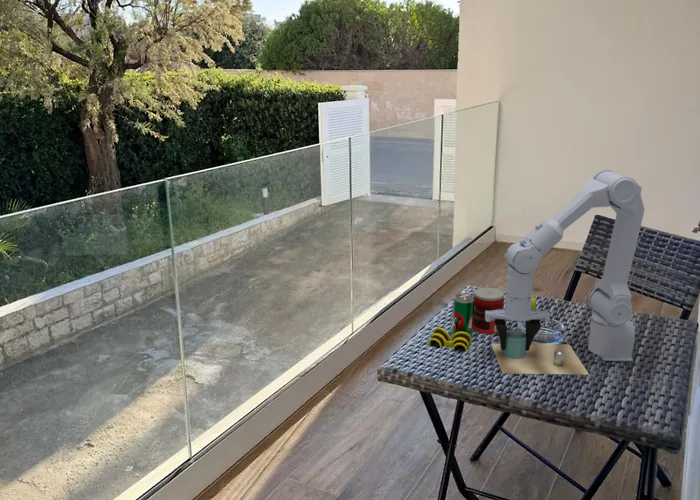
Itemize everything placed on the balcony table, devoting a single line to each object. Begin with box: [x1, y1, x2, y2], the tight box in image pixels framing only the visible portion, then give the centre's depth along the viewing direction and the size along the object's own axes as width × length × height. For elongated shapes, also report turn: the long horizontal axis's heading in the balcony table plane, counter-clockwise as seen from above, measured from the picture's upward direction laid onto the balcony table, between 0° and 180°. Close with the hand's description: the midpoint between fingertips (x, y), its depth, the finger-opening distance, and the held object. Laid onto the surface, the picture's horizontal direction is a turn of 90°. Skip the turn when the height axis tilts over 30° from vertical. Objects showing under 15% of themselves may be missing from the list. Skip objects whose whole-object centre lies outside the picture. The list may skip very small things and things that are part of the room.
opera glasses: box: [428, 326, 472, 353], centre depth 150 cm, size 10×5×5 cm, turn 66°
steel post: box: [553, 350, 565, 367], centre depth 140 cm, size 2×2×3 cm
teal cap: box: [503, 329, 527, 359], centre depth 145 cm, size 5×5×5 cm
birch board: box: [491, 343, 590, 376], centre depth 143 cm, size 19×15×1 cm
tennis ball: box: [530, 294, 537, 310], centre depth 170 cm, size 7×7×7 cm
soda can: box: [451, 292, 474, 339], centre depth 154 cm, size 5×5×12 cm
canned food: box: [473, 287, 505, 335], centre depth 159 cm, size 8×8×11 cm
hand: (514, 348), depth 145 cm, fingers closed on teal cap, 5 cm apart
